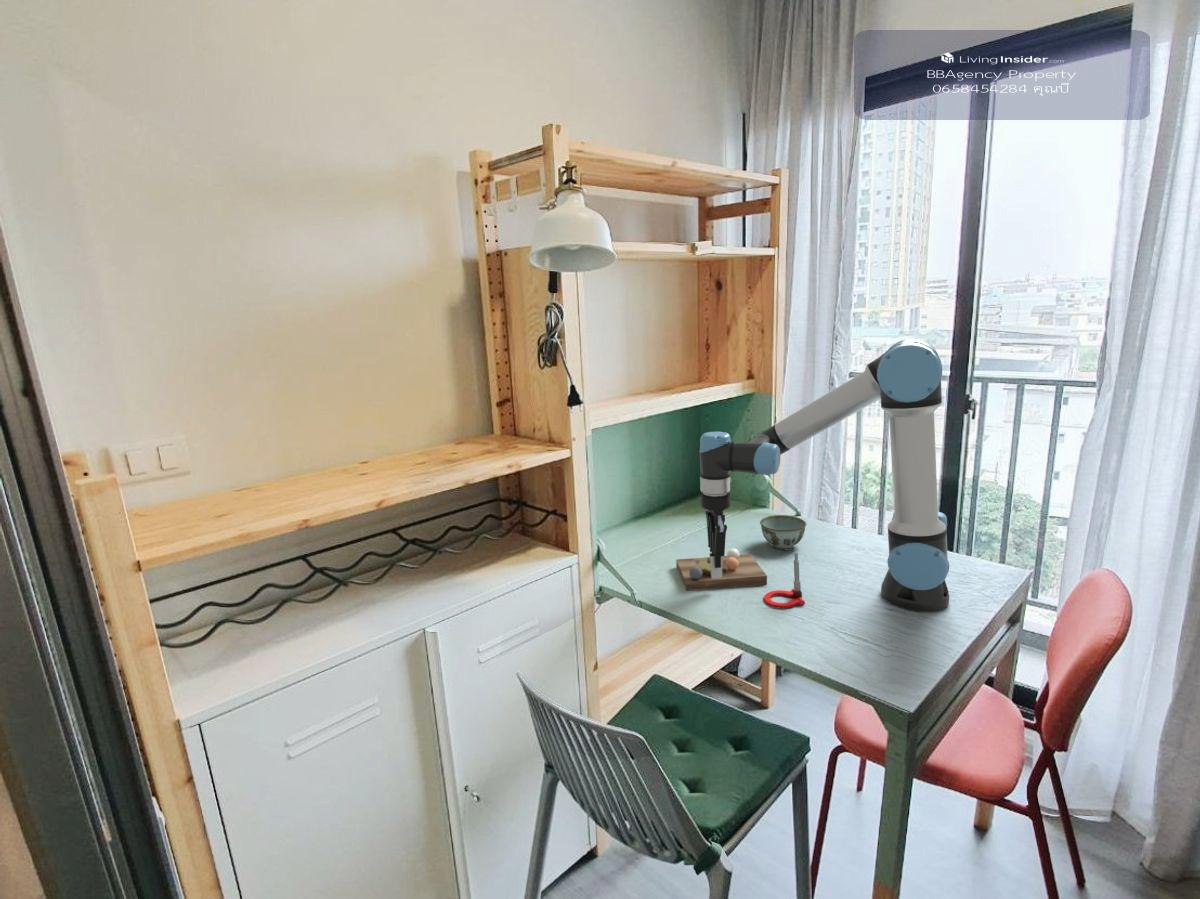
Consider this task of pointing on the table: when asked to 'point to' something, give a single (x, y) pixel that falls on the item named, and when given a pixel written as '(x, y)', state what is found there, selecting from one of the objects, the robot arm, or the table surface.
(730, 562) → the ball
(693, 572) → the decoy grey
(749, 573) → the brown wooden flat board
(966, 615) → the table surface
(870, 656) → the table surface
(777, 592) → the tow hook
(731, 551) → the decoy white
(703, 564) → the cover
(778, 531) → the bowl
